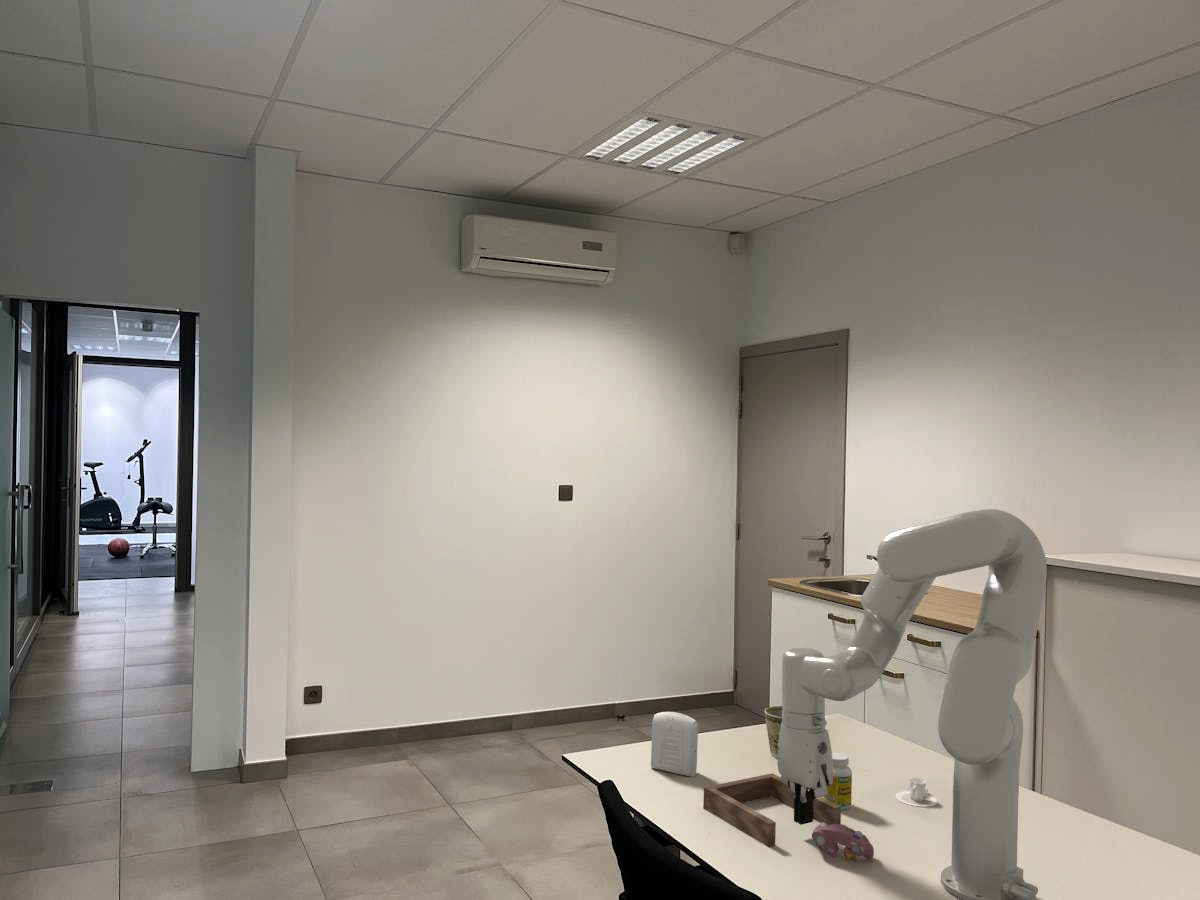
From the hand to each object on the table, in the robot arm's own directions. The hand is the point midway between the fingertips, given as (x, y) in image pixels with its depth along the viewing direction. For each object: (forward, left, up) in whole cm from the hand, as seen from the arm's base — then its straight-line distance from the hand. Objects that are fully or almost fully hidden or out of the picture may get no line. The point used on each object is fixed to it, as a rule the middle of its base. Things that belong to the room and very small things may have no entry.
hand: (803, 821), depth 161 cm
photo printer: (+38, +2, -3) cm, 38 cm away
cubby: (+9, 0, -2) cm, 9 cm away
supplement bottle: (+8, -16, -3) cm, 18 cm away
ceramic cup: (+33, -26, -3) cm, 42 cm away
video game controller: (-9, 0, -3) cm, 10 cm away
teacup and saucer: (+1, -35, -3) cm, 35 cm away
